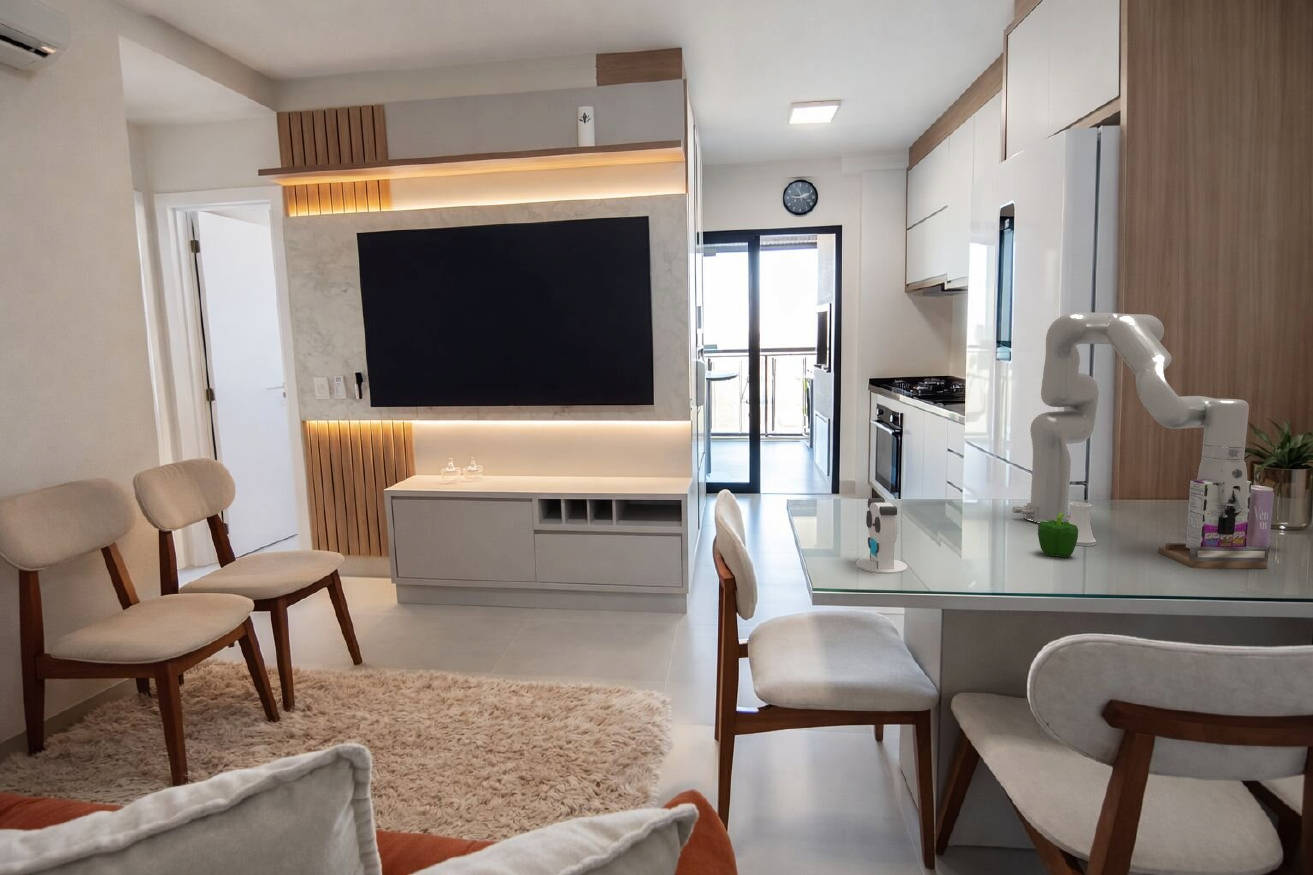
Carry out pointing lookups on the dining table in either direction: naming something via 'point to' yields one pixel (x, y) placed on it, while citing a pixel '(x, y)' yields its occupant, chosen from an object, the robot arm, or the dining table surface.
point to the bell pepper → (1057, 537)
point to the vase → (1082, 522)
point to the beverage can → (1260, 516)
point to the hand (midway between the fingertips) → (1215, 529)
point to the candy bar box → (1212, 517)
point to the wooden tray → (1216, 556)
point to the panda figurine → (881, 538)
